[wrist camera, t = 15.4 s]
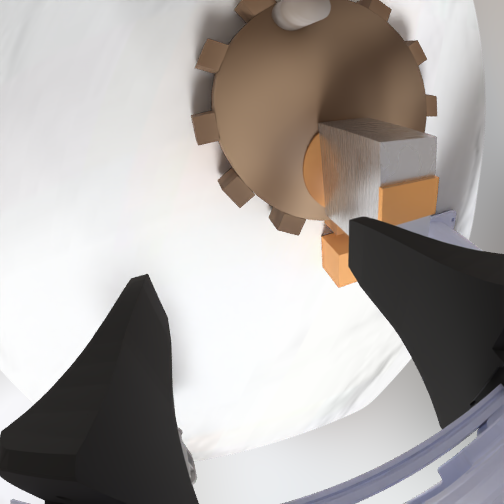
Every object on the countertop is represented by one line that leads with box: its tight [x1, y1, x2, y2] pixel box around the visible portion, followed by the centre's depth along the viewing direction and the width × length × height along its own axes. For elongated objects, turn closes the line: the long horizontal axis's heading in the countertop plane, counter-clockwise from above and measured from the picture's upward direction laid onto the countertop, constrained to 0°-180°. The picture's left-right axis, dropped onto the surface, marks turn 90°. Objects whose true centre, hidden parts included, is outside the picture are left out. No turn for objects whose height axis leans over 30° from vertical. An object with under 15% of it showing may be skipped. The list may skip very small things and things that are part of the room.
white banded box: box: [318, 118, 439, 237], centre depth 15 cm, size 6×4×6 cm, turn 9°
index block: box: [321, 233, 357, 288], centre depth 23 cm, size 3×2×3 cm, turn 9°
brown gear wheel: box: [191, 0, 437, 236], centre depth 15 cm, size 17×17×5 cm
